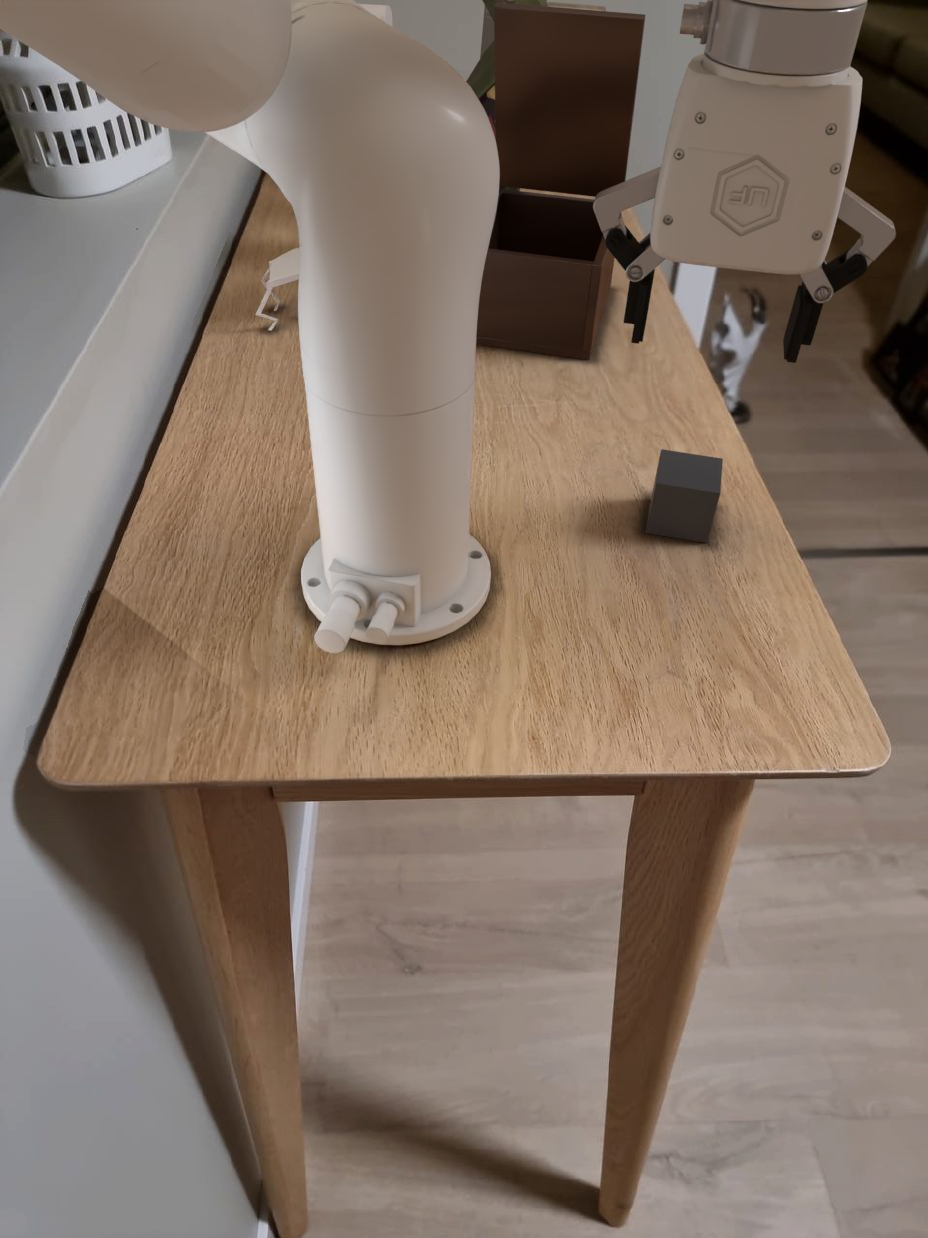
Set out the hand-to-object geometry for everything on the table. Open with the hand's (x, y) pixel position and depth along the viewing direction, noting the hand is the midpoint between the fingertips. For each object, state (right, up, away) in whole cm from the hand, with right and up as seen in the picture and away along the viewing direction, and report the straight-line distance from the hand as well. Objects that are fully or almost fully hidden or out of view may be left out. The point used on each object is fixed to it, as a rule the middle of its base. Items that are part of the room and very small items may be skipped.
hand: (712, 343), depth 60 cm
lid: (-7, +28, +24) cm, 37 cm away
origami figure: (-31, +13, +32) cm, 46 cm away
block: (0, -11, +8) cm, 13 cm away
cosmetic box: (-9, +52, +74) cm, 91 cm away
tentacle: (-14, +28, +48) cm, 57 cm away
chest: (-9, +12, +32) cm, 35 cm away
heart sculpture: (-27, +39, +59) cm, 76 cm away
